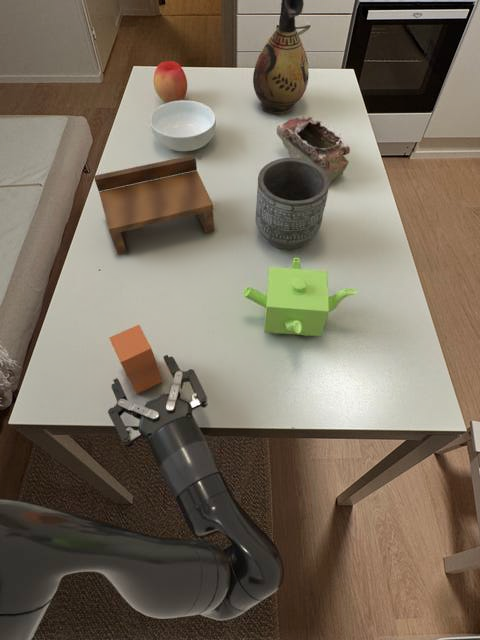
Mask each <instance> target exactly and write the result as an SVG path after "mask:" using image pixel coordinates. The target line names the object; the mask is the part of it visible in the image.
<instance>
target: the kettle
mask: <svg viewBox="0 0 480 640" xmlns="http://www.w3.org/2000/svg"><path fill="white" fill-rule="evenodd" d="M300 261H301V260H300V257H293V260H292V265H291V267H277V266H269V267H268V274H267V275H268V277H267V286H266V293H263V292H260V291H259V290H257V289H255V288H253V287H251V286H247V287H245V289H244V290H243V292H242V296H243V297H244V298H246V299H248V300H250V301H252V302H253V303H256V304H258V305H259V306H261V307H263V308H265V310H264V311H265V312H264V326H263V330H264V331H263V332H265V333H273V334H276V335H280V334H287V335H300V336H304V337H309V336H310V337H313V336H314V337H321V336H322V333H323V331H324V328H325V325H326V322H327V319H328V316H329V314H330V313H332V312H334V311H335V310H336V309H337V308H338V306H339V305H340V303H341V302H342V301H343V300H344V299H345V298H347V297H349V296H353V295H356V294H358V291H357V290H356V289H355V288H344V289H341V290H339V291H337V292H336V293H334V294H333V295H331V296H329V281H328V280H329V279H328V277H329V276H328V271H327V270H317V269H308V268H307V269H306V268H302V267H301V262H300Z"/></svg>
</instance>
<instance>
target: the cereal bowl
mask: <svg viewBox="0 0 480 640" xmlns="http://www.w3.org/2000/svg"><path fill="white" fill-rule="evenodd" d="M149 123H150V125H149V126H150V128H151V131H152V134H153V136H154V138H155V139H156V140H157V142H158V143H159V144H161V146H163V147H165V148H167V149H169V150H171V151H177V152H193V151H196V150H199V149H201V148H203V147H204V146H206V145H207V144H208V143H209V142H210V141H211V139H212V138H213V137H214V135H215V131H216V125H217V124H216V123H217V117H216V114H215V112H214V111H213V109H212V108H211V107H209V106H208V105H206V104H205V103H202V102H199V101H194V100H188V99H187V100H185V99H182V100H179V101H173V102H169V103H166V102H165V103H163V104H161V105H160V106H158V107H156V108H155V109H153V111H152V113H151V115H150V117H149Z"/></svg>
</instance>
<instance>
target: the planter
mask: <svg viewBox="0 0 480 640" xmlns="http://www.w3.org/2000/svg"><path fill="white" fill-rule="evenodd" d="M330 183H331V182H330V180H329V177H328V174H327V173H326V171H325V170H324V169H323V168H322V167H320V166H319V165H317V164H315V163H313V162H311V161H308V160H305V159H300V158H290V157H283V158H282V157H281V158H278V159H275V160H273V161H270V162H268V163H266V164H265V165H264V166H263V167H262V168H261V169H260V170H259V173H258V177H257V188H256V189H257V190H256V207H255V225H256V228H257V230H258V231H259V233H260V235H261V236H262V237H263V238H264V239H265V241H267V243H268V244H269V245H270V246H272V247H274V248H276V249H278V250H283V251H292V250H297V249H299V248H301V247H303V246H305V245H306V244H307V243H309V242H310V241H311V240H313V239H314V238H315V237H316V236H317V234H318V233H319V232H320V229H321V225H322V220H323V217H324V212H325V208H326V204H327V200H328V199H327V198H328V195H329V191H330V185H331V184H330Z"/></svg>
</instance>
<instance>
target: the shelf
mask: <svg viewBox="0 0 480 640" xmlns="http://www.w3.org/2000/svg"><path fill="white" fill-rule="evenodd" d="M93 178H94V182H95V185H96V188H97V191H98V194H99V198H100V202H101V206H102V210H103V213H104V217H105V220H106V225H107V229H108V231H109V234H110V236H111V240H112V243H113V245H114V249H115V252H116V254H117V255H122V254H126V253H127V249H126V245H125V242H124V241H125V240H124V238H123V232H126V231H131V230H135V229H139V228H144V227H147V226H151V225H156V224H160V223H164V222H168V221H173V220H177V219H182V218H186V217H190V216H194V215H197V216H198V219H199V220H200V221H199V222H200V223H201V225H202V227H203V230H204V232H205V233H210V232H214V231H215V223H214V221H215V220H214V203H213V201H212V199H211V197H210V195H209V193H208V190H207V188H206V186H205V185H204V182H203V180H202V178H201V176H200V174H199V172H198V167H197V158H196V157H195V155H194V154H192V155H191V154H190V155H187V156H181V157H176V158H172V159H167V160H162V161H158V162H153V163H148V164H144V165H139V166H134V167H128V168H124V169H120V170H115V171H110V172H105V173H100V174H96V175H93Z"/></svg>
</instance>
